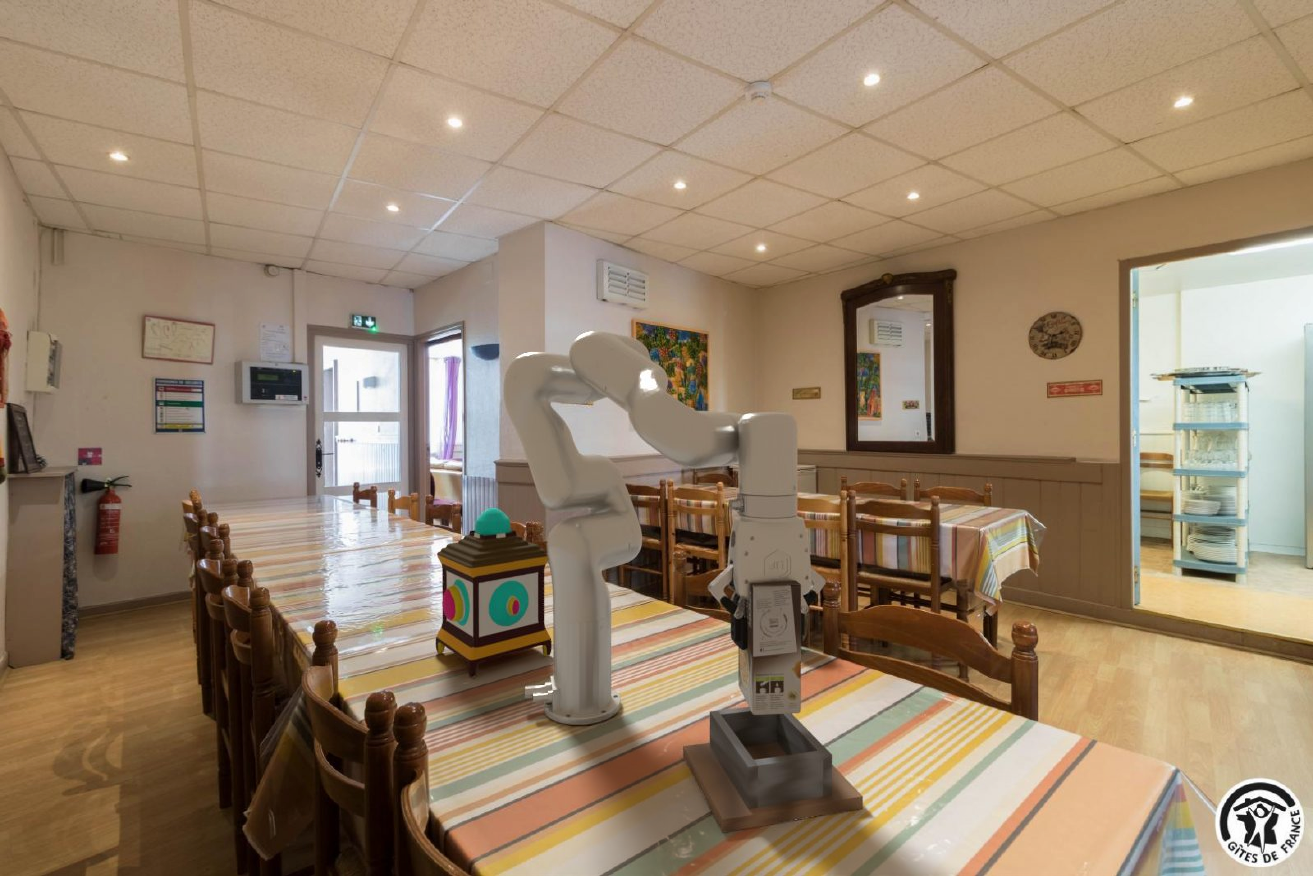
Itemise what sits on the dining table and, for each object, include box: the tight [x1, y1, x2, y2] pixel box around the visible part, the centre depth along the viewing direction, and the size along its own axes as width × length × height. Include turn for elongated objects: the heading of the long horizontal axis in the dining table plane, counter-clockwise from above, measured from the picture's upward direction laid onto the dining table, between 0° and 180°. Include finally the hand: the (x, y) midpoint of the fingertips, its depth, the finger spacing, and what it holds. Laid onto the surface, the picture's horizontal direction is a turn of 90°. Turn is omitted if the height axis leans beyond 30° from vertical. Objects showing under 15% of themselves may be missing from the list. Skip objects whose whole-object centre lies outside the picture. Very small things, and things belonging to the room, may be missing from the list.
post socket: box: [682, 706, 864, 833], centre depth 77 cm, size 18×16×6 cm
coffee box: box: [737, 581, 802, 715], centre depth 77 cm, size 9×6×16 cm
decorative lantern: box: [435, 507, 553, 679], centre depth 120 cm, size 20×20×30 cm
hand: (767, 642), depth 77 cm, fingers closed on coffee box, 7 cm apart
